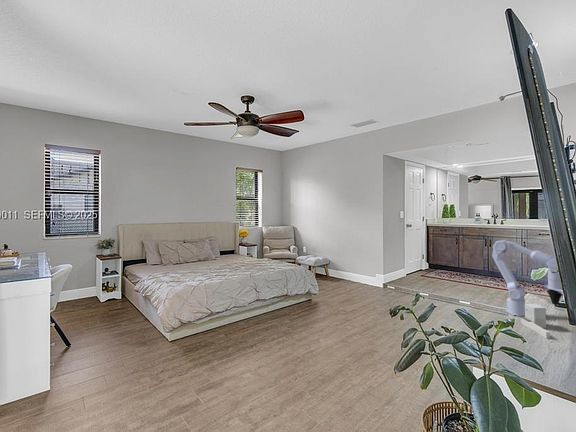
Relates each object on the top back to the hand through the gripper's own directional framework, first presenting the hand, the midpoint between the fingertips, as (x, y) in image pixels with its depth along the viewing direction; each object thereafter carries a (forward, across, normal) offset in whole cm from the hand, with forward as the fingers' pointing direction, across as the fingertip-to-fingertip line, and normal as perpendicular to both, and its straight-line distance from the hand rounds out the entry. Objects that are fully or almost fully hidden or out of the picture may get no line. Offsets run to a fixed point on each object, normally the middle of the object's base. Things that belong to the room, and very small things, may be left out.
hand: (555, 304), depth 165 cm
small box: (+10, -7, +14) cm, 19 cm away
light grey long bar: (+9, -14, +19) cm, 26 cm away
